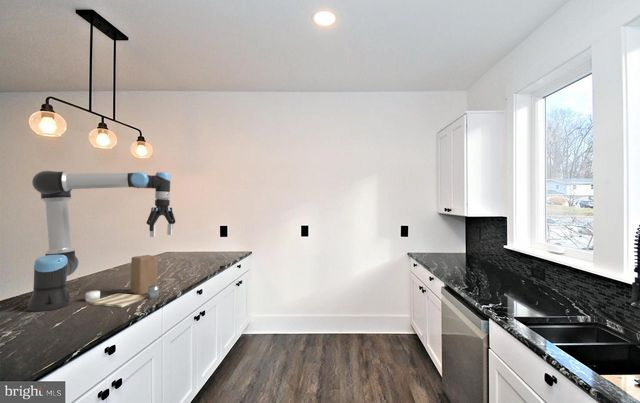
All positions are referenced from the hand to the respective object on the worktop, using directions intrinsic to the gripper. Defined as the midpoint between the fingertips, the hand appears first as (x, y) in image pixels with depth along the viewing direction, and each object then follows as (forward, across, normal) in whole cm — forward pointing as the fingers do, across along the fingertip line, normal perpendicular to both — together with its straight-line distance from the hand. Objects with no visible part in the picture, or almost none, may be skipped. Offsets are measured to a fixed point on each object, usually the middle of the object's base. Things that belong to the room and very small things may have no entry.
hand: (161, 235), depth 174 cm
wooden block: (+31, -6, +5) cm, 32 cm away
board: (+31, -22, +4) cm, 39 cm away
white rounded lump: (+31, -25, +18) cm, 44 cm away
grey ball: (+31, -13, -7) cm, 35 cm away
